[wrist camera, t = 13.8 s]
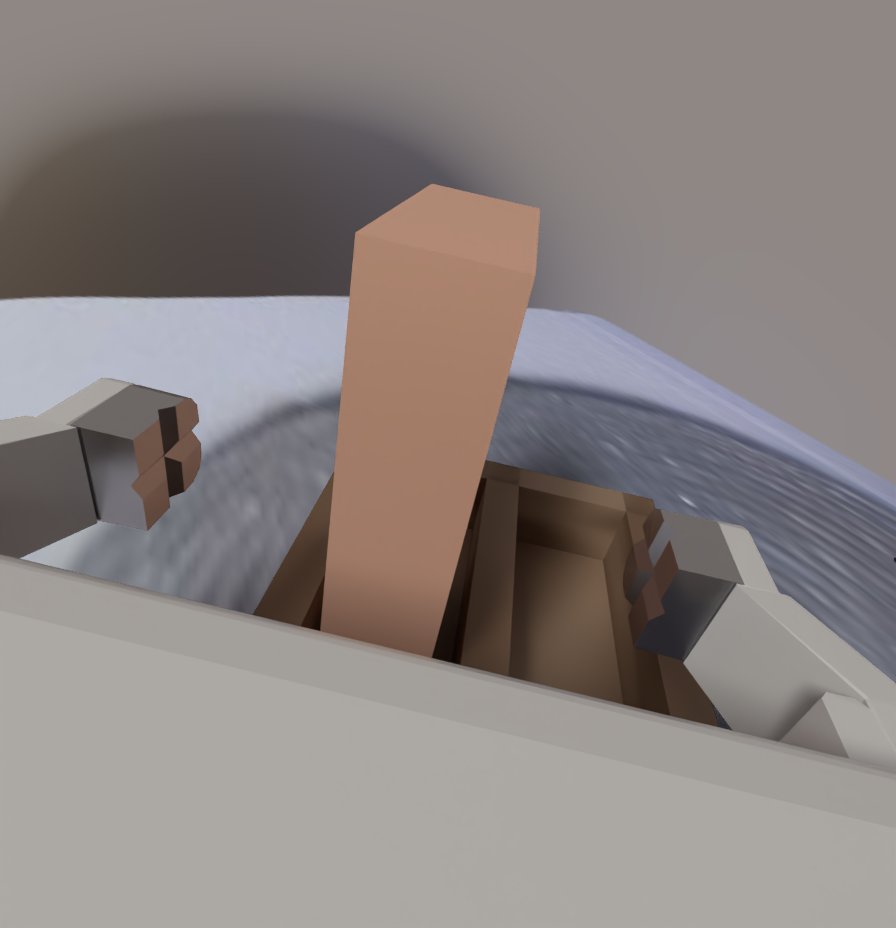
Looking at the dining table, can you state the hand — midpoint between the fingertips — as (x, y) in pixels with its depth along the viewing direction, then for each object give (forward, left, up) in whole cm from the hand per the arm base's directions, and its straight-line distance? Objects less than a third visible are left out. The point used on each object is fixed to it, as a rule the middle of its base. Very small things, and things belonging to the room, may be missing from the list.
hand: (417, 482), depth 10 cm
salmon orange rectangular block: (0, -3, -8) cm, 8 cm away
